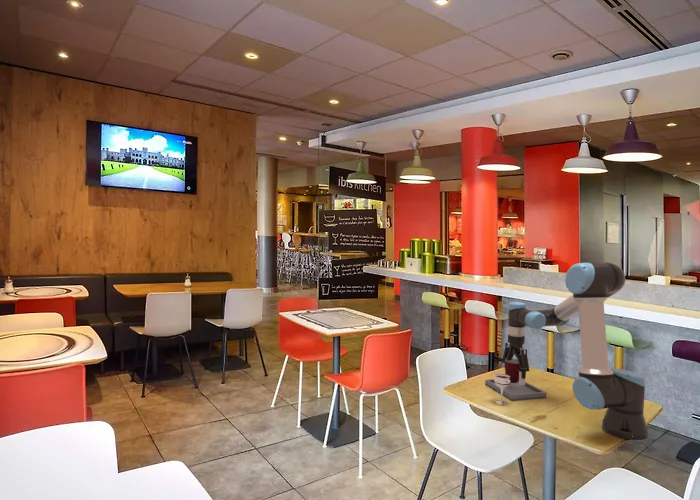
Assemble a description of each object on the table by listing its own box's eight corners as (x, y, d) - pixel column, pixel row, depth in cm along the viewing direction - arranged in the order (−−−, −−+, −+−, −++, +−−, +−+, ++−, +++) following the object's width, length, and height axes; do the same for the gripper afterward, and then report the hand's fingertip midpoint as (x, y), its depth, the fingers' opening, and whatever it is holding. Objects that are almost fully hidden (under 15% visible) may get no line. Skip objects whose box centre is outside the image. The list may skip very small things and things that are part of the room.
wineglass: (503, 399, 205) (504, 373, 205) (512, 405, 199) (513, 377, 198) (490, 400, 204) (491, 374, 203) (498, 406, 197) (499, 378, 197)
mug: (529, 385, 213) (529, 364, 212) (514, 387, 210) (515, 365, 210) (514, 378, 223) (515, 358, 222) (500, 379, 220) (501, 359, 220)
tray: (546, 397, 208) (546, 392, 208) (511, 400, 203) (511, 395, 203) (516, 382, 229) (517, 377, 229) (485, 384, 225) (485, 379, 225)
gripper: (539, 340, 205) (537, 388, 206) (508, 329, 227) (507, 372, 228) (524, 341, 203) (522, 389, 204) (495, 329, 225) (494, 373, 226)
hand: (514, 380), depth 216 cm, fingers closed on mug, 10 cm apart
